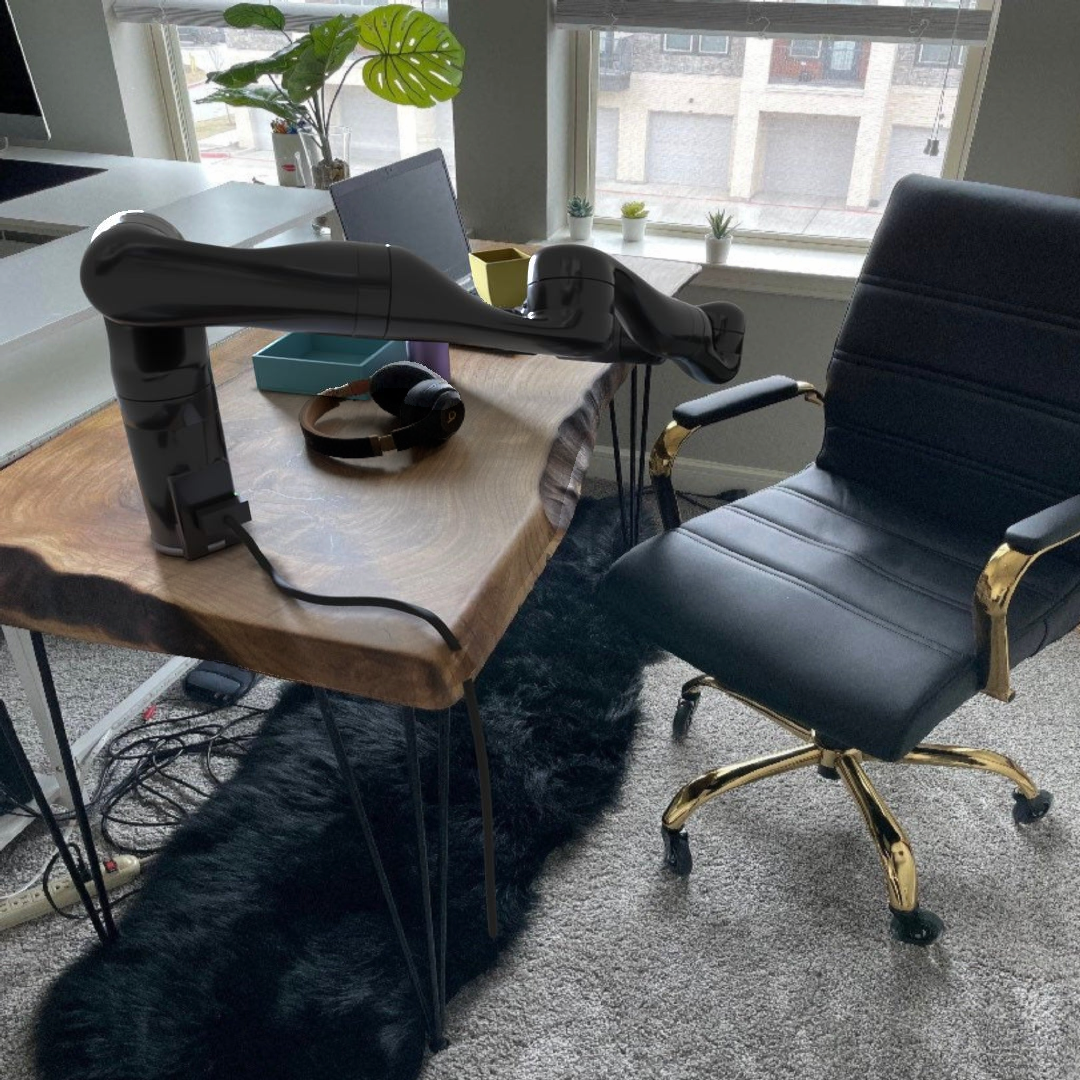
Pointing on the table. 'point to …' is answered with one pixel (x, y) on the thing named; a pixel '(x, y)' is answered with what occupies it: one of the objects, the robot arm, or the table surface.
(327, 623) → the table surface
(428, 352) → the beverage can
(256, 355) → the box
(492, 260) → the flower pot
